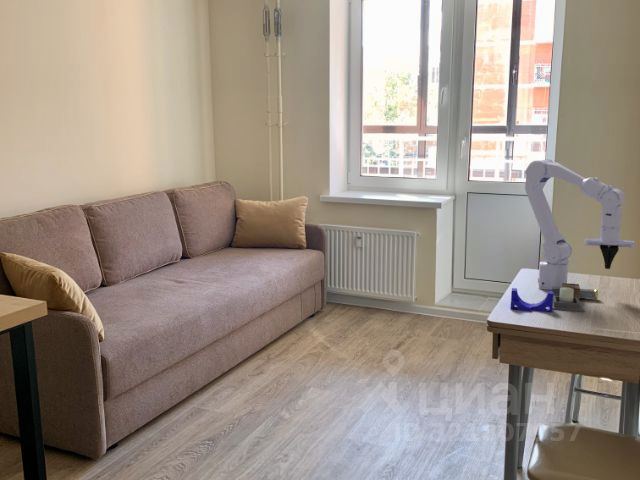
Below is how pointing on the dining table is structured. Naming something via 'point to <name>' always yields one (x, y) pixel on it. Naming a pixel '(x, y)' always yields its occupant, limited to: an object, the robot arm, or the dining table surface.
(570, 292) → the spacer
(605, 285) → the dining table surface
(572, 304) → the cradle
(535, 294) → the dining table surface
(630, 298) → the dining table surface
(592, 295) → the shaft
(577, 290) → the brown wooden block
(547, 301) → the blue semicircular bracket
